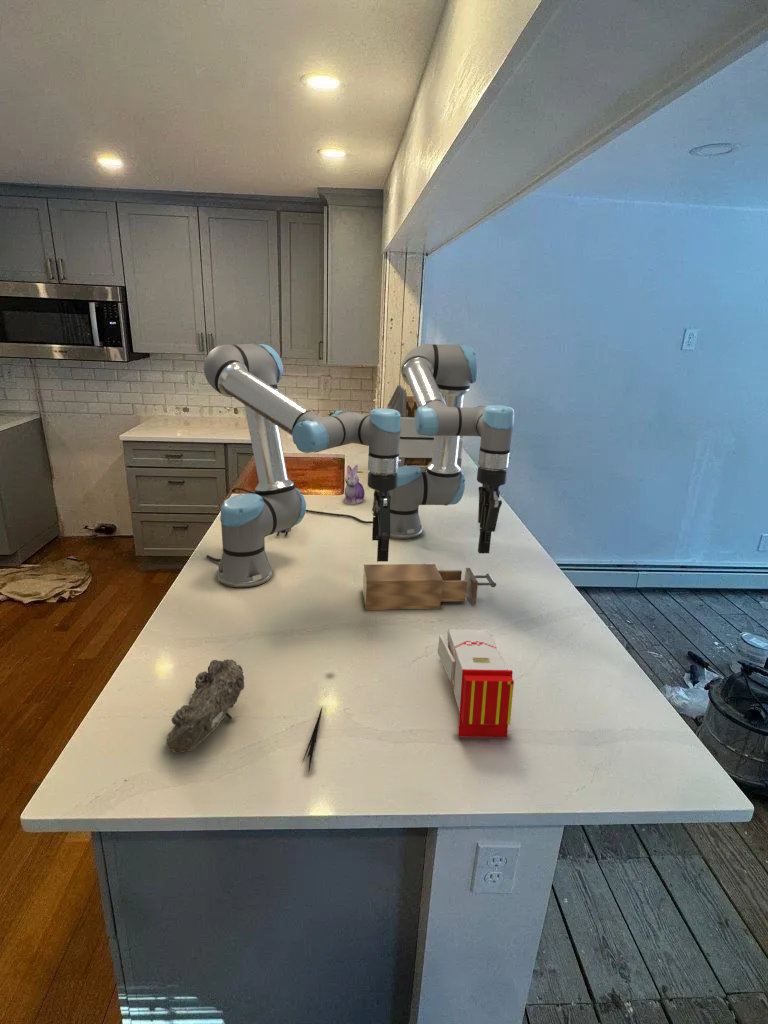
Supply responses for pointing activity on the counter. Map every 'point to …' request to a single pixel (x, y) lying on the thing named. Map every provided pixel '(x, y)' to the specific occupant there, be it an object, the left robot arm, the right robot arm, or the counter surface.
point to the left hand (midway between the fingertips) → (379, 550)
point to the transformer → (413, 433)
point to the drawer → (461, 585)
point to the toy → (478, 682)
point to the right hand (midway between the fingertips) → (483, 552)
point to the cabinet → (401, 586)
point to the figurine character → (284, 531)
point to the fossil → (206, 705)
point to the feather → (313, 740)
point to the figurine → (353, 487)
